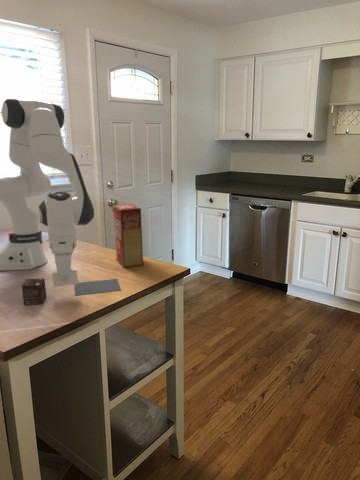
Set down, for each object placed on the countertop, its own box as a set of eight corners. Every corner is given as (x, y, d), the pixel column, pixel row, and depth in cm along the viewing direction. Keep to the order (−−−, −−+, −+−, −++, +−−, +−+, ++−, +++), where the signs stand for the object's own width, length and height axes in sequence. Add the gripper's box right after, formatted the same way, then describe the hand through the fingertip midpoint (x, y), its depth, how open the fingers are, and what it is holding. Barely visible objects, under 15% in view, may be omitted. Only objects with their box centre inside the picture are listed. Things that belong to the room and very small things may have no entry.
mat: (75, 296, 135) (75, 295, 135) (74, 284, 146) (74, 283, 146) (121, 291, 139) (121, 290, 139) (117, 279, 150) (116, 278, 150)
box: (29, 298, 133) (26, 278, 131) (46, 298, 133) (44, 278, 132) (23, 306, 127) (21, 285, 125) (42, 305, 128) (40, 284, 126)
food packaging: (115, 259, 175) (112, 204, 168) (135, 256, 178) (133, 203, 172) (123, 268, 163) (120, 209, 157) (144, 265, 167) (142, 208, 160)
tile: (54, 287, 131) (52, 273, 130) (54, 285, 133) (52, 271, 132) (78, 283, 133) (76, 269, 132) (78, 281, 135) (76, 268, 134)
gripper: (54, 233, 138) (56, 270, 142) (51, 250, 119) (55, 292, 123) (72, 233, 139) (74, 269, 143) (72, 249, 120) (75, 290, 124)
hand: (65, 280), depth 133 cm, fingers closed on tile, 2 cm apart
